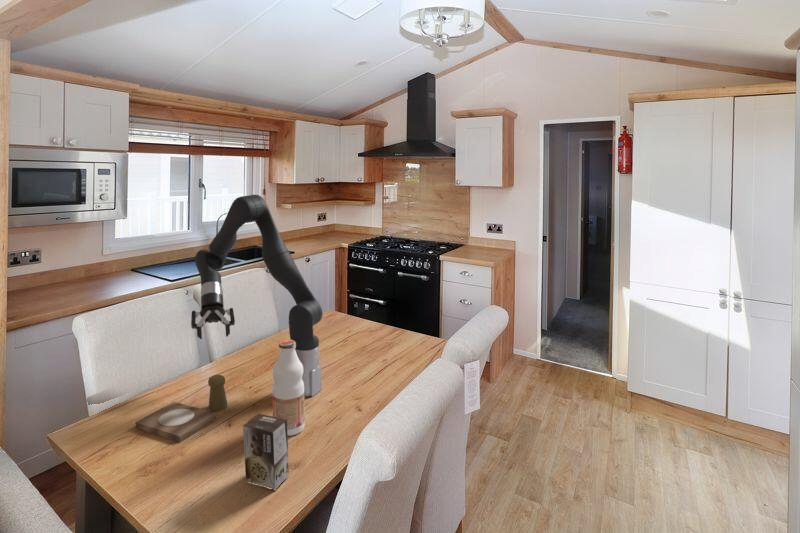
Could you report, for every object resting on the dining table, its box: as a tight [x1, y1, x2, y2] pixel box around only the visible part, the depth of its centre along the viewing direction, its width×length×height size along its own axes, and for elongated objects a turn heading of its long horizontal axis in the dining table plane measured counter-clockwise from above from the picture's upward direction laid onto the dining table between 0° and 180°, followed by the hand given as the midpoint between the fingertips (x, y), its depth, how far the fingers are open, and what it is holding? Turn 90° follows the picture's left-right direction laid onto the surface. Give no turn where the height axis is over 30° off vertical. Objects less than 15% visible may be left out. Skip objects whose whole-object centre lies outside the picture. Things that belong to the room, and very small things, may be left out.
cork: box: [207, 374, 229, 413], centre depth 148 cm, size 6×6×11 cm
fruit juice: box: [271, 339, 306, 437], centre depth 135 cm, size 9×9×28 cm
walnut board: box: [134, 401, 217, 443], centre depth 139 cm, size 18×14×2 cm
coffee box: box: [242, 413, 290, 489], centre depth 113 cm, size 9×6×16 cm
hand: (214, 336), depth 156 cm, fingers open, 8 cm apart
